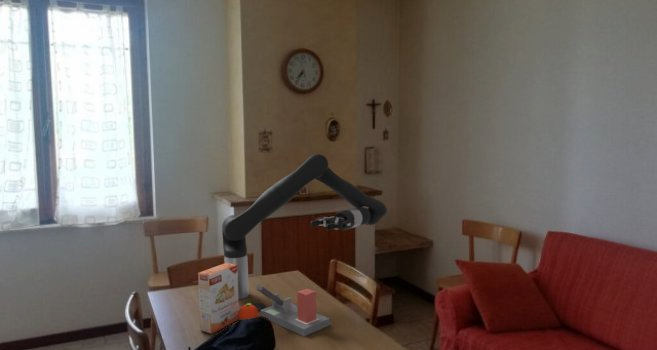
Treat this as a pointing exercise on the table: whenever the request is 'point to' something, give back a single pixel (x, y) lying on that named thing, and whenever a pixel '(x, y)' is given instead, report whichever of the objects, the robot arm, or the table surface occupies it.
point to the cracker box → (218, 297)
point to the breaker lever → (270, 295)
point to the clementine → (248, 311)
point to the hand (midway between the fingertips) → (318, 226)
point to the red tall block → (306, 305)
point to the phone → (258, 306)
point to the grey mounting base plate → (293, 318)
